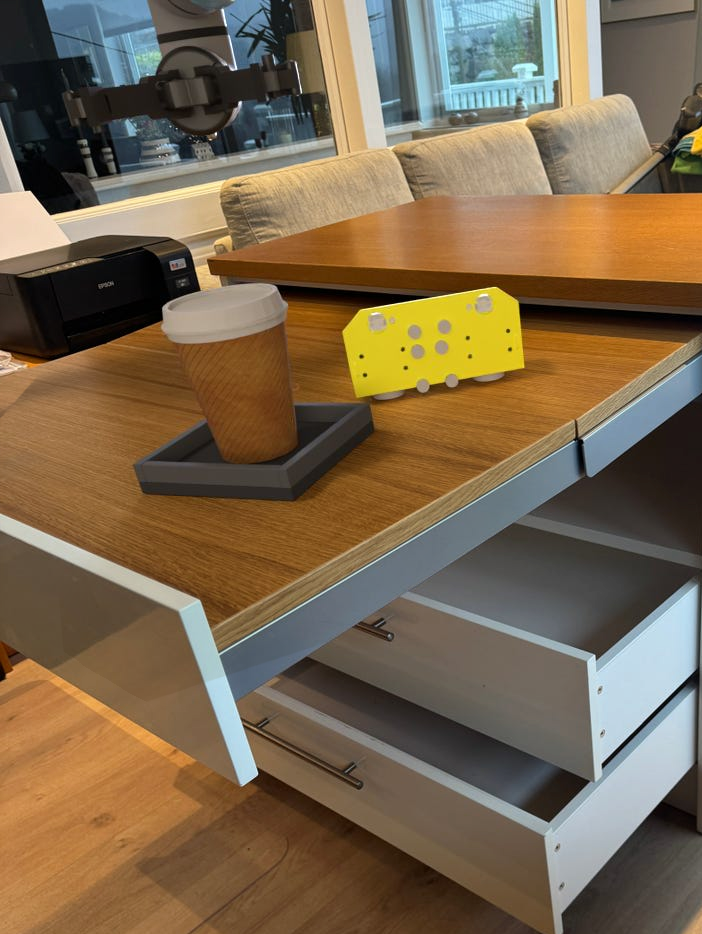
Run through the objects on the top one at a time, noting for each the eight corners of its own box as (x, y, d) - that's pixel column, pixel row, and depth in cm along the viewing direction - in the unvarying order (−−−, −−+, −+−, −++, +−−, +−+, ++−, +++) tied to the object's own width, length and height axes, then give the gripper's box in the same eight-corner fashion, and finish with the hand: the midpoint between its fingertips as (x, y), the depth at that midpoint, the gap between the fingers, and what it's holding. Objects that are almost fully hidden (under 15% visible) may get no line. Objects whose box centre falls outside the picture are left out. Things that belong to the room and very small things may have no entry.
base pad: (142, 493, 71) (131, 464, 70) (238, 428, 82) (231, 402, 80) (293, 501, 66) (285, 469, 65) (375, 430, 77) (369, 402, 76)
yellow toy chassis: (358, 408, 83) (339, 315, 78) (353, 390, 87) (336, 301, 83) (526, 377, 84) (517, 284, 79) (513, 361, 89) (504, 273, 84)
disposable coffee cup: (317, 420, 78) (284, 275, 71) (319, 460, 70) (282, 300, 63) (207, 439, 77) (164, 294, 70) (196, 481, 69) (146, 322, 63)
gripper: (329, 116, 93) (337, 125, 75) (85, 152, 91) (34, 170, 73) (313, 29, 89) (317, 17, 71) (57, 64, 87) (-4, 61, 69)
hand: (173, 95), depth 72 cm, fingers open, 13 cm apart
